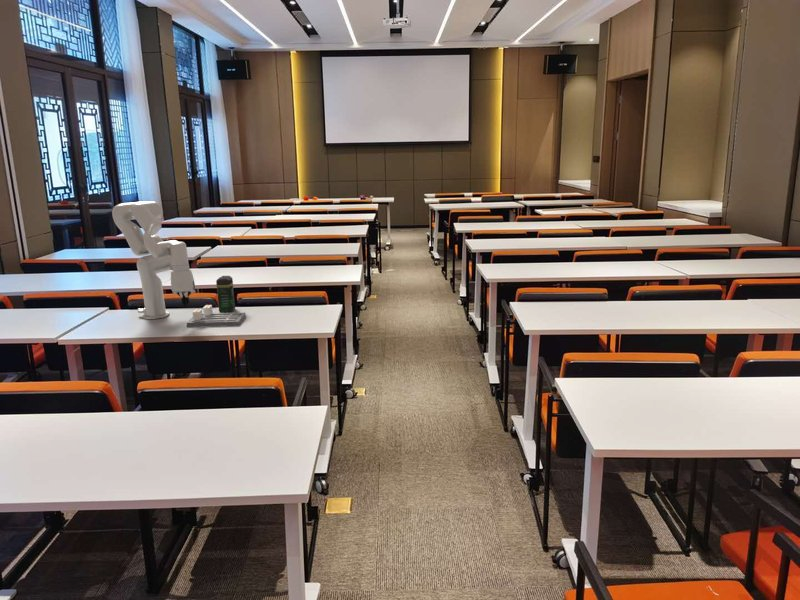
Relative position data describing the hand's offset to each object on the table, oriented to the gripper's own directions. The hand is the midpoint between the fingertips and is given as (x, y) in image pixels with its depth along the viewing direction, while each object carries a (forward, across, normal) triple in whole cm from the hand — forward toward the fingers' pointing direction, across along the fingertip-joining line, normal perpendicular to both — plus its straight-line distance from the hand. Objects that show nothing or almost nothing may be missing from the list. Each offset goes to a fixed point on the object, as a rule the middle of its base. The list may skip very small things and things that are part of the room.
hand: (186, 304), depth 284 cm
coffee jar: (+10, +13, +23) cm, 28 cm away
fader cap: (+7, +5, +1) cm, 9 cm away
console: (+10, +13, +4) cm, 17 cm away
